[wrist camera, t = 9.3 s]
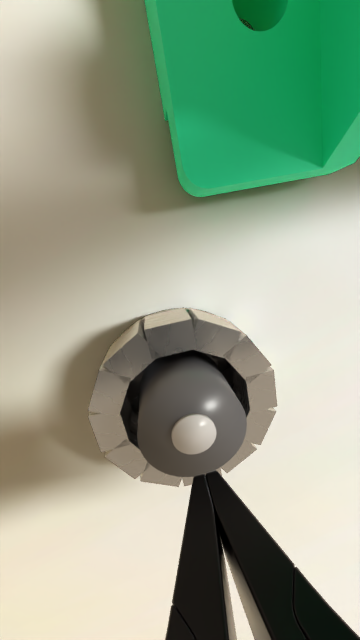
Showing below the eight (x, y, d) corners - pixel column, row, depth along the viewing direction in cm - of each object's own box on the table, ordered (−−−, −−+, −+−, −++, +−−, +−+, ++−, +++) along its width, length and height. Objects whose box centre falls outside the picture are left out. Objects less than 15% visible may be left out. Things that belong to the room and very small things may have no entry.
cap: (214, 339, 14) (240, 372, 10) (227, 409, 15) (254, 464, 11) (130, 359, 14) (123, 402, 10) (151, 430, 15) (152, 493, 11)
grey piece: (243, 292, 14) (266, 301, 11) (260, 424, 17) (282, 459, 14) (80, 328, 13) (62, 348, 11) (125, 461, 16) (120, 504, 13)
